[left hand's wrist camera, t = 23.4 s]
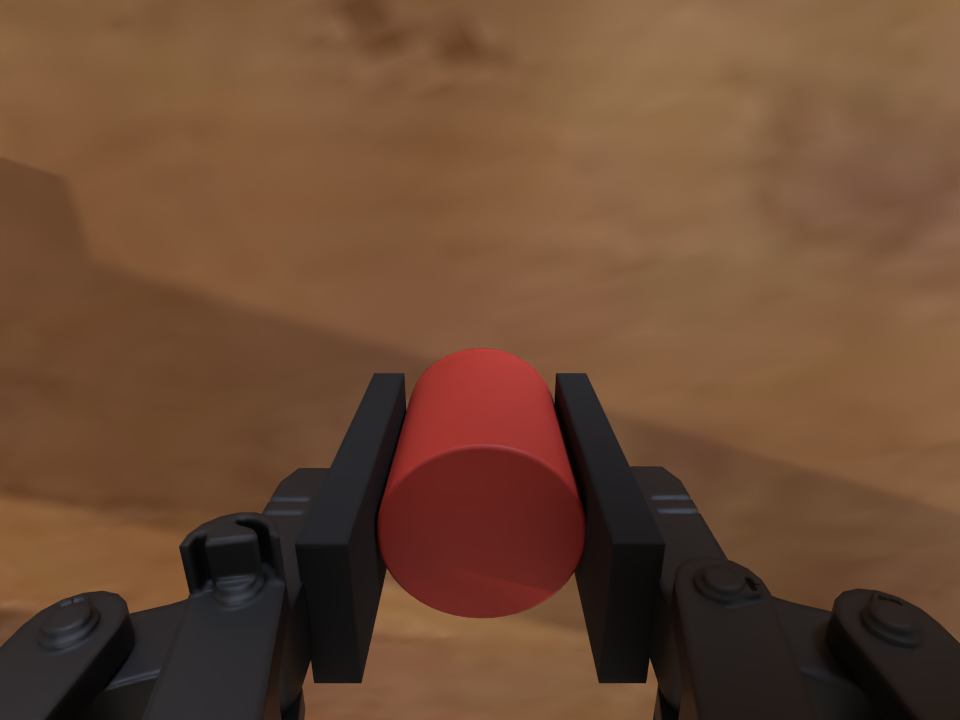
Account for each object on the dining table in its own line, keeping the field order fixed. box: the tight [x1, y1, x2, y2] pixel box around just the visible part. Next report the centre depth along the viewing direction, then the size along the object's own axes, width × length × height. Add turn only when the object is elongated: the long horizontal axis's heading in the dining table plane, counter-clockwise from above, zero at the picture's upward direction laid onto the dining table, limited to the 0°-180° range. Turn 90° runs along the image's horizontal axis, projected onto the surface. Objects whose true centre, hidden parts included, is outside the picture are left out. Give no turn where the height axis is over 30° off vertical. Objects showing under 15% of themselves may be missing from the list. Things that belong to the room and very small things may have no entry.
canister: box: [377, 348, 586, 618], centre depth 13 cm, size 4×4×5 cm
